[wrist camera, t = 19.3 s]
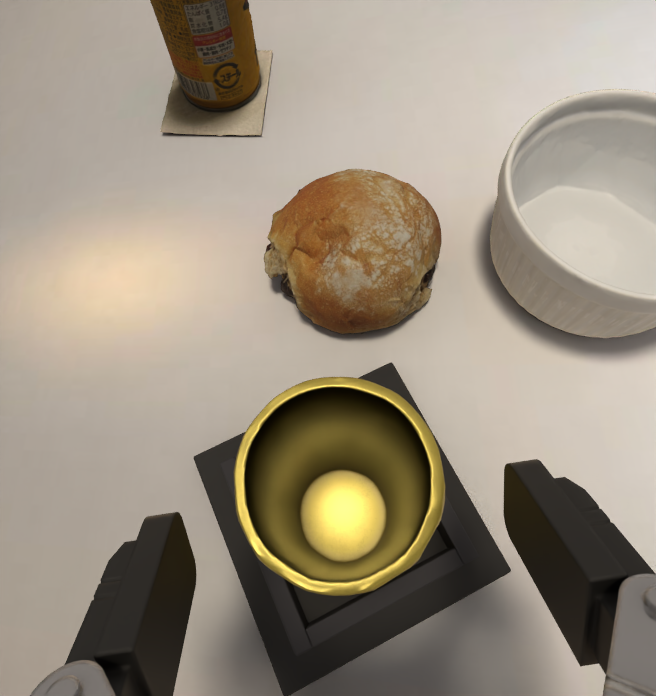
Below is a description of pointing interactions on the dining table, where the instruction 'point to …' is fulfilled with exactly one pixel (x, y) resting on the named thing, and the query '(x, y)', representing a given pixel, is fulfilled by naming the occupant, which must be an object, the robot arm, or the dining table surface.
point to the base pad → (360, 609)
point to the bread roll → (355, 250)
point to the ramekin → (582, 214)
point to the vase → (338, 485)
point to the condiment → (213, 68)
